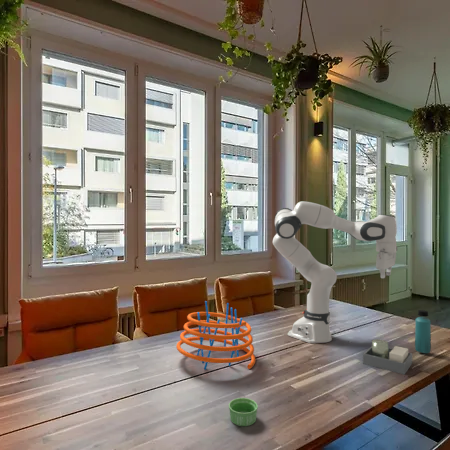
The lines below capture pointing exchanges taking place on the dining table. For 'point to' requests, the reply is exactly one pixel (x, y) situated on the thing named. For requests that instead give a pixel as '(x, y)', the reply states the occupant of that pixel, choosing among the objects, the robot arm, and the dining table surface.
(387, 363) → the tote
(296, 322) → the robot arm
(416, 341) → the beverage bottle
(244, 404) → the ramekin
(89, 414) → the dining table surface
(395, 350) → the cream rectangular block
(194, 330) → the orange spiral coil rods
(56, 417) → the dining table surface
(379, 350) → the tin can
